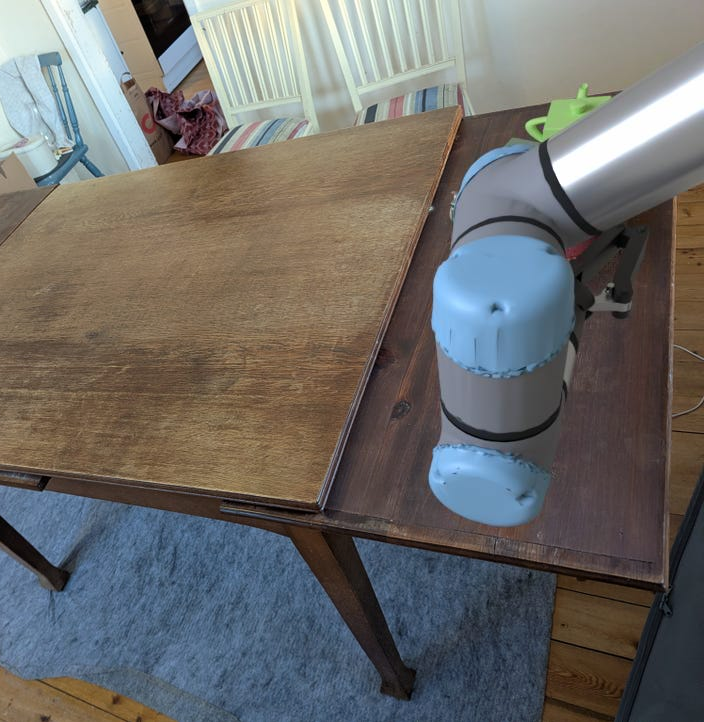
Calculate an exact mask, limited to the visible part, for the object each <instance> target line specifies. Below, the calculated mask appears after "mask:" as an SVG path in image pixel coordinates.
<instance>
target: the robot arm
mask: <svg viewBox="0 0 704 722" xmlns="http://www.w3.org/2000/svg"><path fill="white" fill-rule="evenodd" d="M539 143H540V144H539V145H537V146H535V147H534V146H531V145H523V144H517V145H513V146H506V147H504V146H502V147H497V148H495V149H494V148H493V149H492V150H489V151H488V152H486V153H484V154H483V155H482V156H480V157H479V158H478V159H477V160H476V161H475V162H473V163H472V165H471V166H469V168H468V170H467V171H466V173H465V175H464V177H463V178H462V182H461V185H460V189H459V190H458V195H457V198H456V201H455V206H454V214H453V222H454V225H453V233H452V232H451V241H450V249H449V254H448V258H447V259H446V260H444V261H442V263H441V264H440V265H439V266H438V267H437V269H436V272H435V276H434V278H433V283H432V288H433V289H432V295H433V296H432V297H433V299H432V311H431V315H430V321H431V330H432V331H433V332H434V337H435V347H436V359H437V367H438V368H437V369H438V378H439V395H440V397H439V398H440V399H439V401H440V402H439V405H440V416H441V431H440V436H439V440H438V442H437V445H435V447H433V449H432V460H431V464H430V469H429V473H428V484H429V487H430V489H431V491H432V492H433V494H434V496H435V497H436V498H437V500H438V501H439V502H441V504H443V506H445V507H446V508H448V509H449V510H450V511H452V512H453V513H455V514H457V515H458V516H460V517H463V518H465V519H467V520H469V521H473V522H477V523H480V524H485V525H488V526H491V527H499V528H502V527H503V528H510V527H511V528H512V527H519V526H522V525H525V524H527V523H530V522H531V521H533V520H534V519H535V518H537V516H539V514H540V513H541V511H542V508H543V506H544V505H543V504H544V501H545V498H546V496H547V495H546V494H547V491H548V488H549V487H551V486H552V471H553V466H554V461H555V457H556V454H557V453H556V452H557V447H558V443H559V438H560V433H561V428H562V422H563V416H564V411H565V406H566V403H567V399H568V395H569V392H570V388H571V383H572V379H573V374H574V369H575V367H576V366H575V365H576V362H577V361H576V360H577V358H576V357H577V354H578V352H579V347H580V342H581V338H582V333H583V328H584V323H585V322H586V321H587V320H588V319H590V317H591V316H593V314H594V313H611V315H612V317H613V318H614V319H617V320H625V319H627V318H629V316H630V313H631V312H630V311H631V307H632V302H633V297H634V288H633V284H634V281H635V279H636V276H637V274H638V271H639V269H640V266H641V264H642V262H643V260H644V257H645V254H646V250H647V245H648V241H649V235H650V231H651V230H650V227H648V226H646V225H638V226H635V227H630V226H628V220H630V219H632V218H634V217H636V216H638V215H640V214H642V213H644V212H647V211H648V210H651V209H652V208H655V207H657V206H659V205H661V204H663V203H665V202H666V201H669V200H671V199H673V198H675V197H677V196H679V195H681V194H683V193H686V192H687V191H689V190H691V189H695V187H697V186H700V185H702V184H704V39H702V40H700V41H699V42H697V43H696V44H694V45H692V46H691V47H689V48H688V49H686V50H685V51H683V52H682V53H680V54H679V55H677V56H676V57H674V58H672V59H670V60H669V61H668V62H666V63H664V64H662V65H661V66H660V67H658V68H657V69H654V71H652V72H650V73H649V74H647V75H645V76H644V77H642V78H641V79H639V80H637V81H636V82H634V83H633V84H631V85H630V86H628V87H627V88H625V89H624V90H622V91H620V92H619V93H617V94H615V95H614V96H612V97H611V99H609V100H608V101H606V102H605V103H603V104H602V105H600V106H599V107H597V108H595V109H594V110H592V111H591V112H589V113H588V114H586V115H584V116H583V117H581V118H580V119H578V120H577V121H575V122H573V123H572V124H570V125H569V126H567V127H566V128H564V129H562V130H561V131H559V132H558V133H556V134H555V135H553V136H551V137H550V138H548V139H547V140H545V141H544V142H542V143H541V142H539ZM599 233H601V234H600V235H599V236H598V237H597V238H596V239H595V240H594V241H593V242H592V243H591V244H590V245H589V246H588V247H587V248H586V249H585V250H584V251H583V252H582V253H581V254H580V255H579V256H578V257H577V258H576V259H571V260H570V261H569V262H568V261H567V260H566V250H567V249H569V248H571V247H573V246H575V245H577V244H579V243H582V242H584V241H586V240H588V239H589V238H591V237H593V236H594V235H597V234H599ZM623 249H624V250H623ZM622 251H623V252H622ZM618 254H619V256H620V259H619V262H618V264H617V266H616V269H615V271H614V273H613V278H612V282H608V283H607V284H606V287H604V288H602V290H601V292H600V293H599V294H598V295H594V294H593V293H592V291H590V290H589V289H588V288H587V287H586V286H587V285H588V284H589V283H590V282H591V281H592V280H593V279H594V278H595V277H596V276H597V275H598V274H599V272H601V270H602V269H603V268H604V267H605V266H606V265H608V263H609V262H610V261H611V260H612V259H613V258H614V257H616V255H618Z"/></svg>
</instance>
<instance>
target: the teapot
mask: <svg viewBox="0 0 704 722" xmlns="http://www.w3.org/2000/svg"><path fill="white" fill-rule="evenodd" d="M588 89H589V84H588V83H582V84H580V86H579V89H578V93H577V96H576V98H575V97H574V98H565V99H564V98H563V99H552V100H551V103H550V106H549V110H548V112H547V116H540V117H536V118H532V119H530V120H528V121H527V122H526V123H525V125H524V126H525V127H524V128H525V130H526V132H527V133H528V135H530V136H531V137H532V138H533V139H534V140H537V142H539V143H542V142H544V141H545V140H547V139H548V138H550V137H551V136H553V135H555V134H556V133H558V132H559V131H561V130H562V129H564V128H566V127H567V126H569V125H570V124H572V123H573V122H575V121H577V120H578V119H580V118H581V117H583V116H584V115H586V114H588V113H589V112H591V111H592V110H594V109H595V108H597V107H599V106H600V105H602V104H603V103H605V102H606V101H608V100H609V99H611V98H613V96H612V95H604V96H603V95H601V96H589V97H588V92H589V91H588ZM541 124H544V126H543V129H542V132H541V131H540V130H539V129H538V127H537V125H541Z"/></svg>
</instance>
